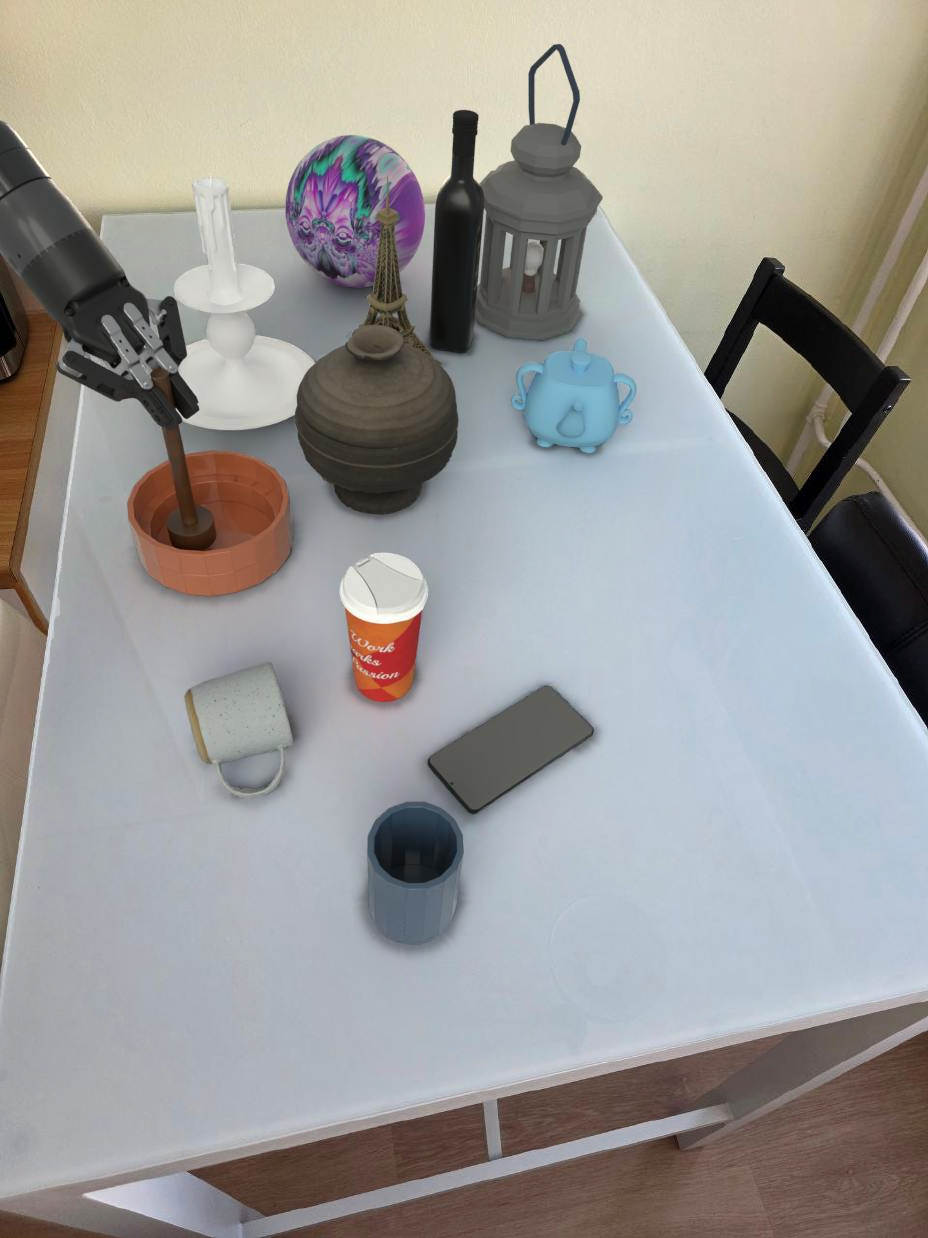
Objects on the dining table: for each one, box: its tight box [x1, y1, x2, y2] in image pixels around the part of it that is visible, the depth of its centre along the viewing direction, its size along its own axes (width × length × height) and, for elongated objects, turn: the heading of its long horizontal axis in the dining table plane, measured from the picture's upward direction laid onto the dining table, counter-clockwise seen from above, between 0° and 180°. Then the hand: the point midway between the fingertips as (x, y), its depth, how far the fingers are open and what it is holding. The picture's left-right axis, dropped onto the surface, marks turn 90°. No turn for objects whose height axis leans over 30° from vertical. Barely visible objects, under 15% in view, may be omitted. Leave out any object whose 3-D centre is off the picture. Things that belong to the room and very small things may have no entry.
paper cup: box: [338, 552, 429, 703], centre depth 83 cm, size 8×8×14 cm
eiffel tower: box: [358, 176, 443, 366], centre depth 115 cm, size 11×11×25 cm
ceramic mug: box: [184, 661, 294, 799], centre depth 79 cm, size 11×8×8 cm
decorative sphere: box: [284, 134, 426, 289], centre depth 131 cm, size 20×20×20 cm
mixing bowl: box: [126, 449, 294, 597], centre depth 97 cm, size 16×16×6 cm
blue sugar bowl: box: [510, 337, 638, 454], centre depth 112 cm, size 13×14×11 cm
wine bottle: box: [428, 109, 485, 354], centre depth 118 cm, size 6×6×30 cm
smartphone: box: [427, 685, 595, 815], centre depth 84 cm, size 7×1×15 cm
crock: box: [366, 801, 465, 946], centre depth 70 cm, size 7×7×10 cm
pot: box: [294, 325, 459, 516], centre depth 100 cm, size 18×18×20 cm
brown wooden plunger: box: [149, 369, 217, 551], centre depth 89 cm, size 5×5×20 cm
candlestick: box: [173, 173, 316, 431], centre depth 107 cm, size 21×25×28 cm
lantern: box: [475, 43, 604, 341], centre depth 123 cm, size 17×17×35 cm
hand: (184, 419), depth 84 cm, fingers closed on brown wooden plunger
